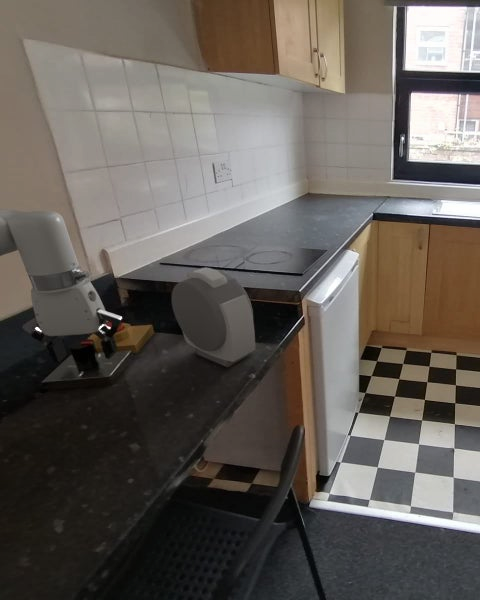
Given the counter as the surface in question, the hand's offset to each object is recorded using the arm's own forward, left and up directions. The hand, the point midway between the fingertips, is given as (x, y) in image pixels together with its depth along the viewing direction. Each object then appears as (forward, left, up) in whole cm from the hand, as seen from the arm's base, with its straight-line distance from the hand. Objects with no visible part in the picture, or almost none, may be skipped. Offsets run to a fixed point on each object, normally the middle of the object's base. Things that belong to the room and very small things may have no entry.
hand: (86, 357), depth 82 cm
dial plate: (0, 0, -4) cm, 4 cm away
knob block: (0, +12, -4) cm, 13 cm away
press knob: (0, +12, 0) cm, 12 cm away
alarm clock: (+25, +3, -4) cm, 25 cm away
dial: (0, 0, -2) cm, 2 cm away
